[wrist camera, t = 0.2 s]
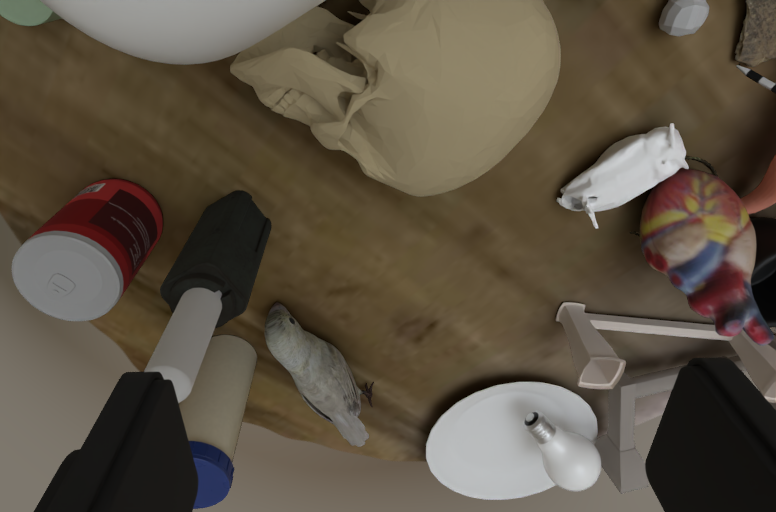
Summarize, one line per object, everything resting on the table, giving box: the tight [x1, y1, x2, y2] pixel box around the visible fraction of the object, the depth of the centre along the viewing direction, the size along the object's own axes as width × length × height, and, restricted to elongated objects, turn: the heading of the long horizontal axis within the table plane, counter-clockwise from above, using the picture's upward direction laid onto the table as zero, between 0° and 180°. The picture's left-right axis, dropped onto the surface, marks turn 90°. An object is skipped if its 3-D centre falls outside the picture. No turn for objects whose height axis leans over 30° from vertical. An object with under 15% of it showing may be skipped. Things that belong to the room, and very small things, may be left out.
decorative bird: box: [265, 302, 374, 447], centre depth 55 cm, size 5×16×7 cm, turn 32°
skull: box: [230, 0, 561, 197], centre depth 37 cm, size 14×17×20 cm
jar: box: [179, 335, 257, 462], centre depth 52 cm, size 6×6×15 cm
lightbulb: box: [523, 411, 602, 491], centre depth 61 cm, size 6×6×11 cm
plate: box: [426, 382, 598, 500], centre depth 65 cm, size 21×21×2 cm
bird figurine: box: [556, 123, 689, 228], centre depth 47 cm, size 5×7×10 cm
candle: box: [144, 191, 271, 403], centre depth 39 cm, size 5×5×25 cm
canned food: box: [12, 179, 163, 321], centre depth 45 cm, size 8×8×11 cm
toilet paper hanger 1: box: [556, 302, 776, 403], centre depth 54 cm, size 23×9×4 cm
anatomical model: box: [640, 168, 774, 346], centre depth 46 cm, size 10×9×15 cm
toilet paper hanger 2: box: [594, 335, 776, 494], centre depth 61 cm, size 22×13×6 cm, turn 98°
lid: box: [189, 441, 234, 509], centre depth 46 cm, size 7×7×2 cm
